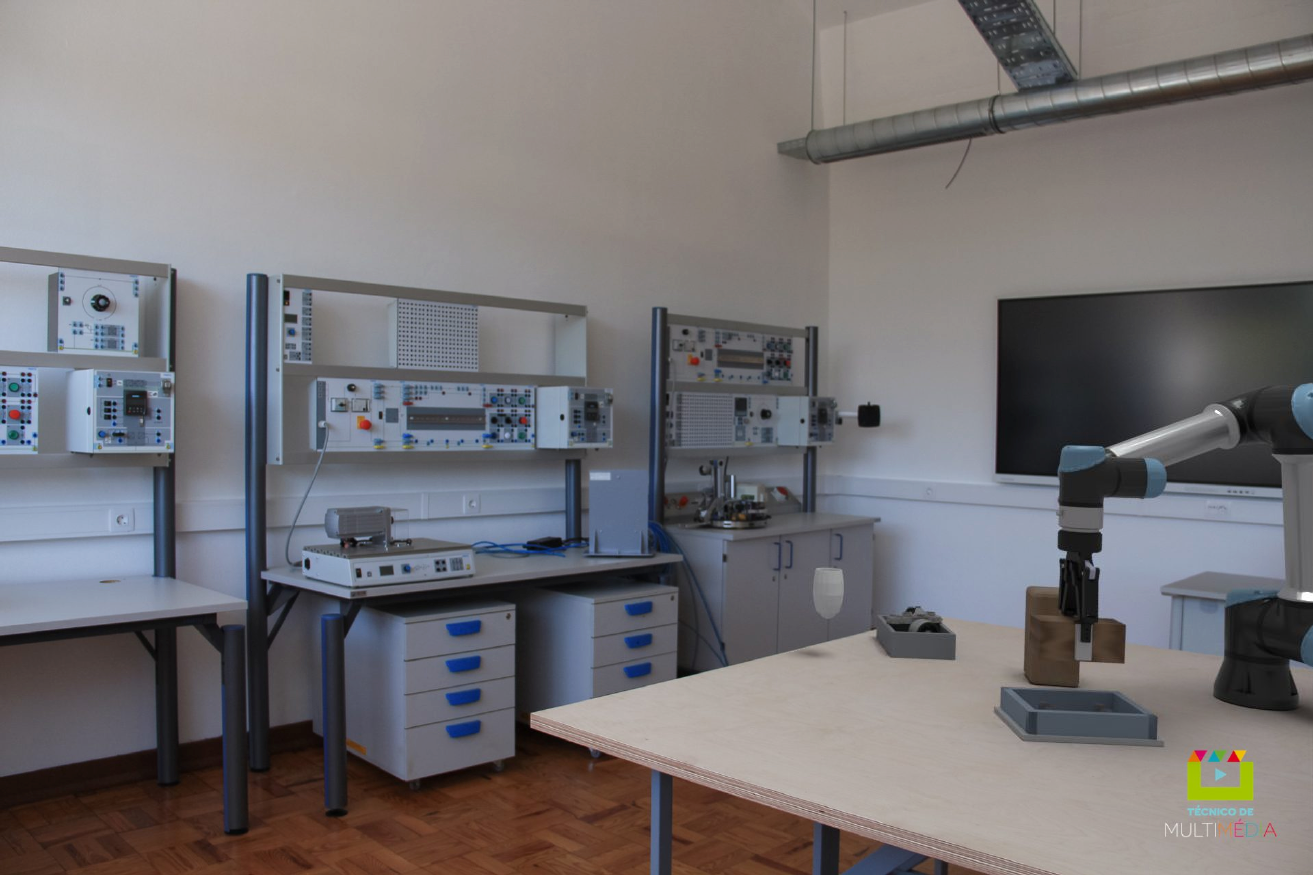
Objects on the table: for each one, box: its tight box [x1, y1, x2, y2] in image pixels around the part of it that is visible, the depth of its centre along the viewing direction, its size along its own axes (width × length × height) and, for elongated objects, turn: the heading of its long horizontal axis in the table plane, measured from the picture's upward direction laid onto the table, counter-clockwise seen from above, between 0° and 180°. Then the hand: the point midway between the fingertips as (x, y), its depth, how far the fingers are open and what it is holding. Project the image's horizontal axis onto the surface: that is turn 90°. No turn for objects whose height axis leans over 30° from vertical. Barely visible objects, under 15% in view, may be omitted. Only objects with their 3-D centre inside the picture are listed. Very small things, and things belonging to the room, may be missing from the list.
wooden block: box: [1023, 585, 1081, 688], centre depth 216 cm, size 10×10×20 cm
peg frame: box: [993, 686, 1165, 747], centre depth 181 cm, size 24×18×5 cm
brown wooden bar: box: [1029, 615, 1127, 665], centre depth 181 cm, size 15×6×7 cm, turn 86°
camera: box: [886, 605, 944, 633], centre depth 245 cm, size 16×9×10 cm, turn 106°
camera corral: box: [875, 614, 957, 661], centre depth 245 cm, size 15×22×6 cm
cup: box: [812, 567, 845, 620], centre depth 234 cm, size 7×7×21 cm
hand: (1076, 655), depth 181 cm, fingers closed on brown wooden bar, 6 cm apart
